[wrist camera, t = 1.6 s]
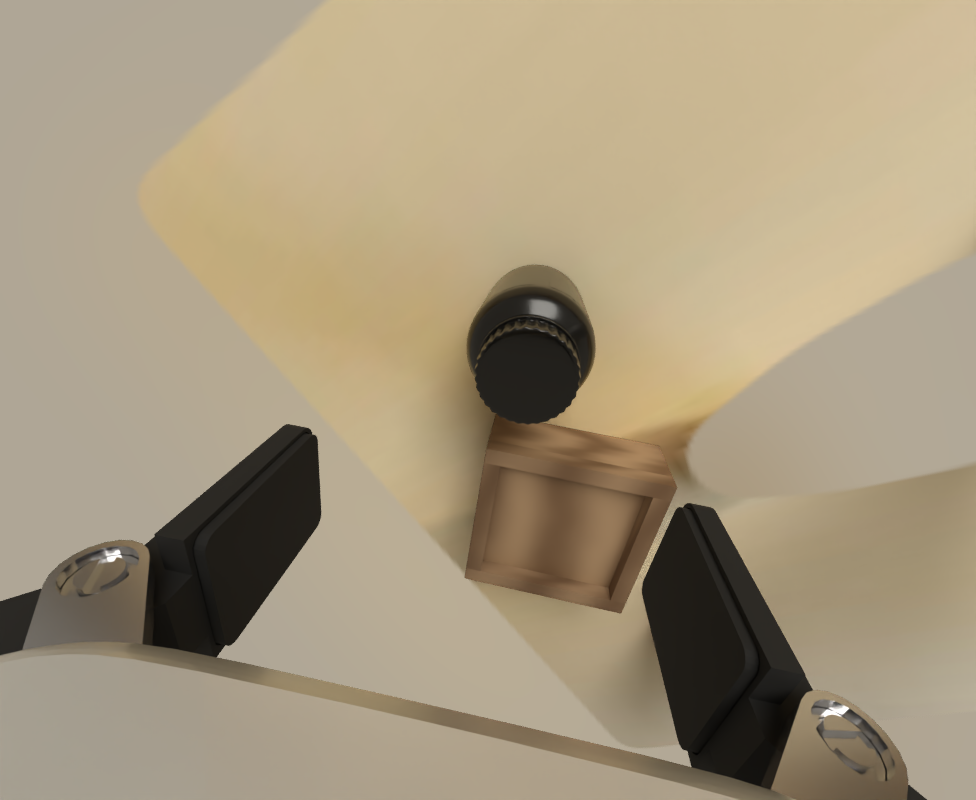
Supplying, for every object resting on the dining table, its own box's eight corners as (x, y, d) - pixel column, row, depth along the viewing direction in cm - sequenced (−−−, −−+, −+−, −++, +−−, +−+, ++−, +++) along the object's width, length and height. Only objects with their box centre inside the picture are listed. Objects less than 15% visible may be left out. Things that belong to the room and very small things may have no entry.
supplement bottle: (508, 371, 31) (483, 460, 20) (472, 286, 29) (422, 335, 18) (597, 340, 29) (622, 421, 18) (566, 246, 27) (574, 275, 16)
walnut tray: (659, 446, 32) (677, 487, 27) (612, 563, 38) (620, 613, 33) (496, 413, 33) (486, 448, 28) (475, 532, 39) (464, 578, 34)
